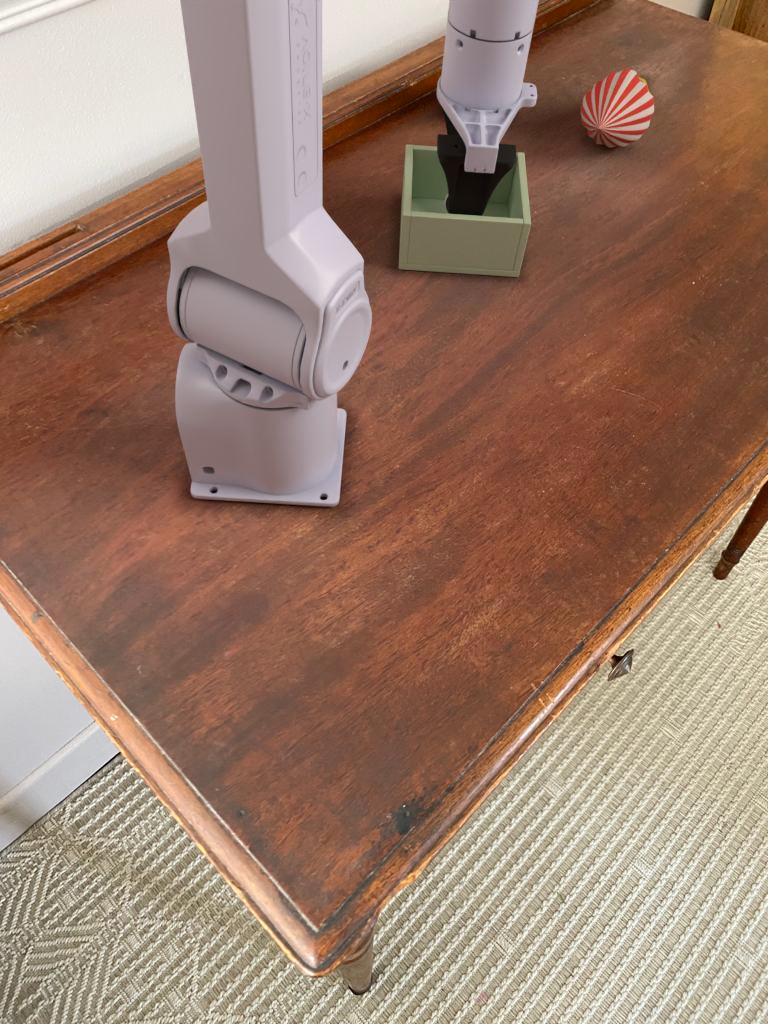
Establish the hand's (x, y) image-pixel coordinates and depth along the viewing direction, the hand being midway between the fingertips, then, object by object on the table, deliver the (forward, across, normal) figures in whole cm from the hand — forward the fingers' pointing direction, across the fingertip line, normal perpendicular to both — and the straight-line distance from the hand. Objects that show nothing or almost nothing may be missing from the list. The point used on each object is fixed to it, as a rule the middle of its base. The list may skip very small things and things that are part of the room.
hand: (463, 201), depth 64 cm
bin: (+3, 0, 0) cm, 3 cm away
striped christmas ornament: (+4, +18, -16) cm, 24 cm away
